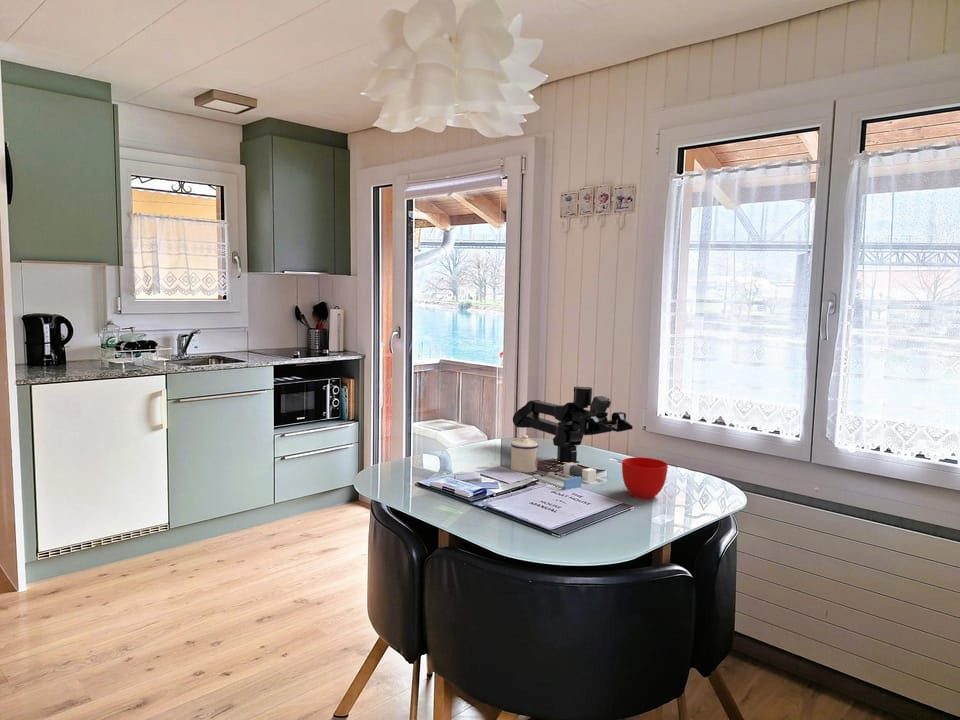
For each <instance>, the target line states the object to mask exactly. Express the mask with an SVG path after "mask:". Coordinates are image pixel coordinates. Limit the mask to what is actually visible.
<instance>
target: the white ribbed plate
mask: <svg viewBox="0 0 960 720" xmlns="http://www.w3.org/2000/svg"><path fill="white" fill-rule="evenodd" d="M555 474H558V475H555ZM559 475H561V476H565V477H568V478H569V479H565V478H562V477H561V476H559ZM532 478H535V479H537V480H539V482H536V483H535V484H538V485H540V486H543V485H544V484H546V483H548V484H550V485H553V486H555V487H553V486H552V487H551V488H549V487H547V488H548V489H551V490H554V491H556V492H557V491H561V490H564V489H565V490H564V491H568V490H573V489H577V488H582V487H583V486H588V485H593V484H598V483H602V482H608V481H609V480H608V479H607V478H603V477H599V476H597V477H596V481H593V482H588V481H585V480H582V477H573V476H570V475H567V474H564V472H561V471H556V472H554V471H548V472H547V474H546V475H545V476H542V475H541V474H533V475H532ZM555 482H556V483H555ZM557 483H560V484H562V485H560V484H557ZM563 485H564V486H563ZM557 487H558V488H557ZM559 488H561V489H559ZM572 488H573V489H572Z"/></svg>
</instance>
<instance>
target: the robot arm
mask: <svg viewBox="0 0 960 720" xmlns="http://www.w3.org/2000/svg"><path fill="white" fill-rule="evenodd" d="M611 404H612V401H611V399H610V397H607V396H603V395H597V396H596V395H595V396H594V397H593V388H592V386H591V387H590V386H574V387H573V400H572V401H571V402H566V403H565V404H564V405H563V404H561V405H560V404H556V403H551V402H546V401H542V400H539V399H537V400H536V399H535V400H529V401H527V403H526V404H525V405H524V406H522V407H520V408H519V409H518V410H517V411H516V412H514V415H513V416H512V423H513V425H514V427H516V428H528V429H529V428H530V429H531V428H532V429H535V430H537V431H540V432H544V433H547V434H550V435H553V436H554V437H553V438H552V442H553V446H556V447H557V455H556V456H557V458H556V460H558V461H560V462H568V463H571V462H573V463H576V464H578V463H580V461H578V460H577V458H578V457H577V455H578V454H577V453H578V451H577V446H580V445H582V442H583V438H584V436H593V435H600V434H605V433H609V432H611V433H612V432H617V433H621V432H626V431H630V430H633V427H634V425H632V424H631V423H630V422H628V421H627V414H626V413H625V412H623V411H617V412H616V411H615V412H613V413H612V414H611V419H609V420H608V412H607V409H609V408H610V407H611ZM588 408H589V410H588ZM540 414H544V415H548V416H551V417H554V419H555V420H557V421H558V422H555V421H551V420H548V419H545V418H542V417H540Z"/></svg>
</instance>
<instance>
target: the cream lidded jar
mask: <svg viewBox="0 0 960 720" xmlns="http://www.w3.org/2000/svg"><path fill="white" fill-rule="evenodd" d="M510 446H511V453H510V454H511V457H510V459H511V460H510V470H512V471H513V470H515V471H514V472H517V471H518V472H517V473H534V472H536V471H537V470H538V453H539V451H538V450H539V443H538V442H537V441H534V440H533V439H531V438H529V436H528V435H527V434H523V435H521V437H520V438H518V439H517V440H514V441H511V443H510Z"/></svg>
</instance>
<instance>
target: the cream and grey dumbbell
mask: <svg viewBox="0 0 960 720" xmlns="http://www.w3.org/2000/svg"><path fill="white" fill-rule="evenodd" d="M563 473H564V474H567V475H574V476H577V477H582V480H585V481H588V482H593V481H596V476H597V469H595V468H592V467H589V468H584V467H581V466H578V463H573V462H571V463H565V464H563Z"/></svg>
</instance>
